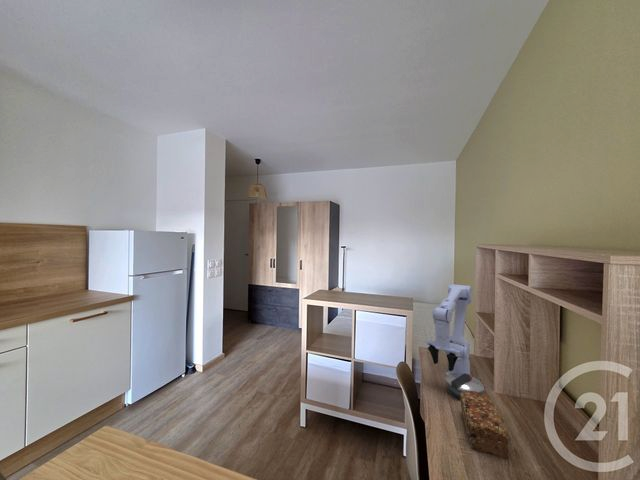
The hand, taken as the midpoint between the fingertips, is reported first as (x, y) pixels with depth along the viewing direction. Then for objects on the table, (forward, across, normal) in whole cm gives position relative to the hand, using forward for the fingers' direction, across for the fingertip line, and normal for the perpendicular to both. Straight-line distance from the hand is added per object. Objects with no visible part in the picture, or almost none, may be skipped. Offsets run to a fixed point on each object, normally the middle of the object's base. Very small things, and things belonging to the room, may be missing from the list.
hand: (443, 366), depth 107 cm
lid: (+6, +6, +5) cm, 10 cm away
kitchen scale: (+10, +7, +4) cm, 13 cm away
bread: (+11, +21, -11) cm, 27 cm away
